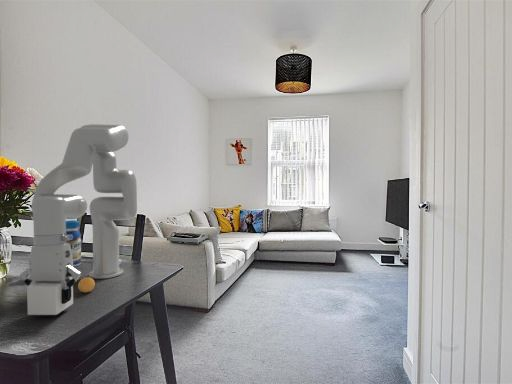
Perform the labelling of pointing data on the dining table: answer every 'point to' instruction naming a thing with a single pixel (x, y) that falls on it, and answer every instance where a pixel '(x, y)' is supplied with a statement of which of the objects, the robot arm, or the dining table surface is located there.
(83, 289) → the ball
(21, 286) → the dining table surface
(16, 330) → the dining table surface
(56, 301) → the white cube
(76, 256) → the beverage bottle
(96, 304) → the dining table surface
